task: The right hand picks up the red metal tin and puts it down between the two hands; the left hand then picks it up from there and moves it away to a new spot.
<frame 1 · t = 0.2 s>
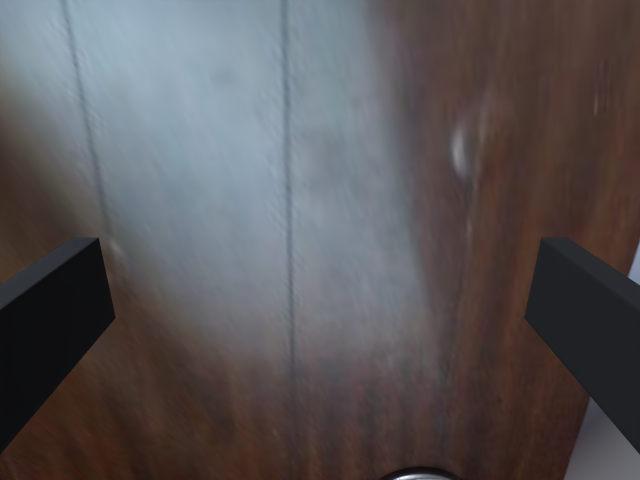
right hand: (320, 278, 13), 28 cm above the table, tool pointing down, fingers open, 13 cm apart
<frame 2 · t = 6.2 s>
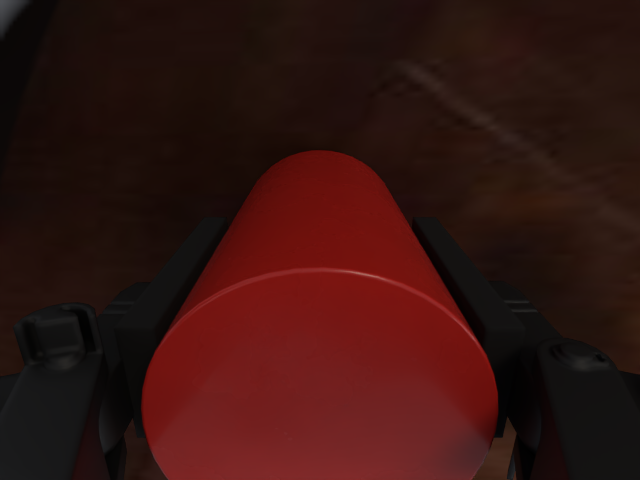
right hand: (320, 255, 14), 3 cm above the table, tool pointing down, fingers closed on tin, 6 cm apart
tin: (319, 226, 17), on the table, touching right hand
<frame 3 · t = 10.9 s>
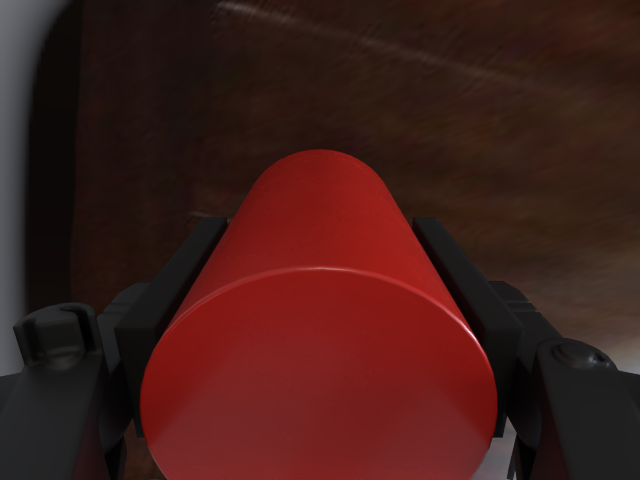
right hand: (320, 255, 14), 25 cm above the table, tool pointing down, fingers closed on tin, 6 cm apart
tin: (319, 225, 17), point 22 cm above the table, touching right hand
when the right hand's fingers open (5 cm above the table, at t = 15.6 s): tin drops 2 cm, on the table.
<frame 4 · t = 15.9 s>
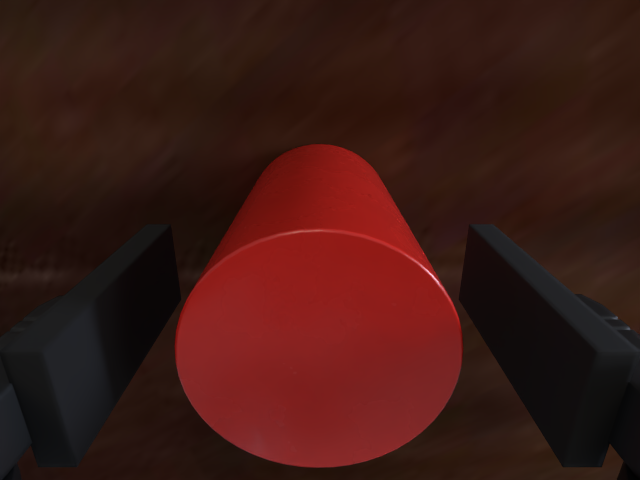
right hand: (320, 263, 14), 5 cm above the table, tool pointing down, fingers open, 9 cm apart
tin: (319, 213, 19), on the table
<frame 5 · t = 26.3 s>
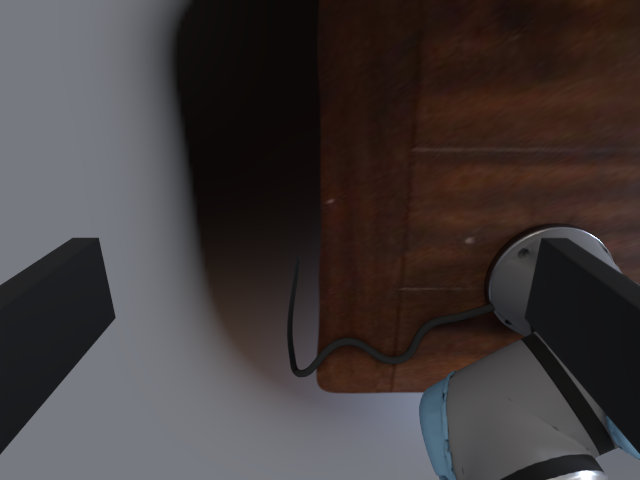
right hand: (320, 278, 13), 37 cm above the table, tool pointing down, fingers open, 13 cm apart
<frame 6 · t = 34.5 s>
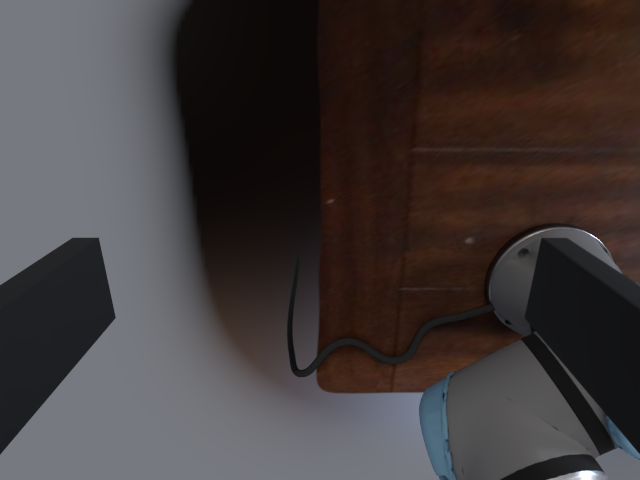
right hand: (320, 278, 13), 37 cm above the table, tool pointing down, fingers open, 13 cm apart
when the left hand's fingers open (5 cm above the table, at t = 43.0 s): tin drops 2 cm, on the table.
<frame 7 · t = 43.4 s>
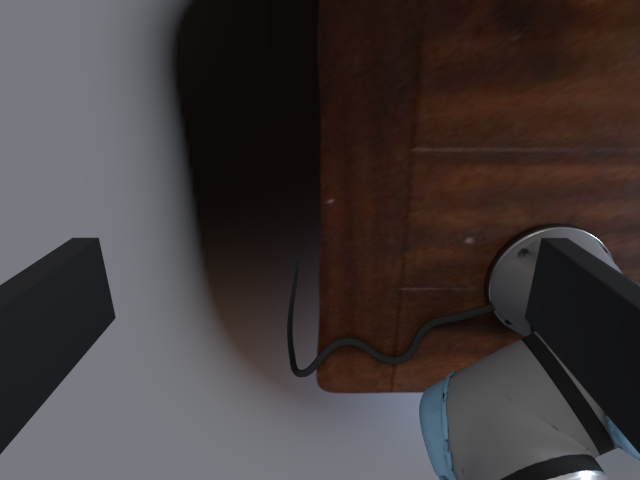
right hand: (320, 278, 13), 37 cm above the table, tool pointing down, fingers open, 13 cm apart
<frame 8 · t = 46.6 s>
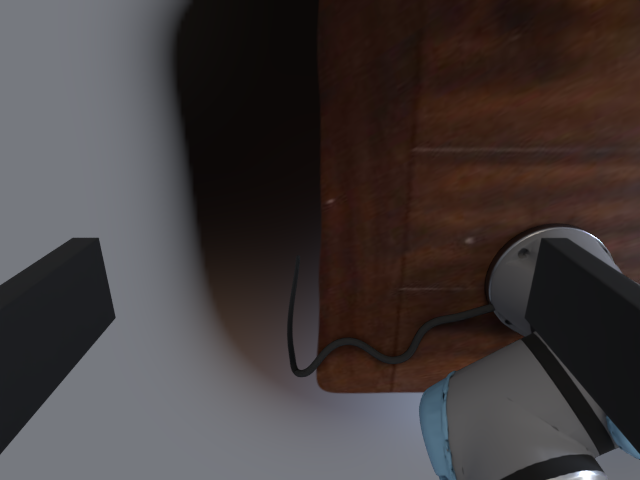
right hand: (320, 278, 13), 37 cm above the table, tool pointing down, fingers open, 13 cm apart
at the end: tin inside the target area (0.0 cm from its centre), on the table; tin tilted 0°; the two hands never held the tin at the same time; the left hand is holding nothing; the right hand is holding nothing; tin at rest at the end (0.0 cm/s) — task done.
